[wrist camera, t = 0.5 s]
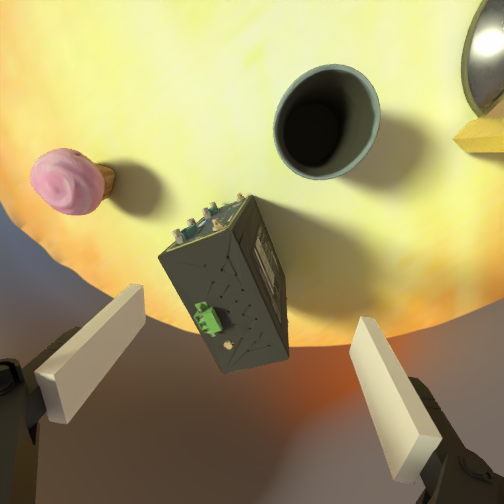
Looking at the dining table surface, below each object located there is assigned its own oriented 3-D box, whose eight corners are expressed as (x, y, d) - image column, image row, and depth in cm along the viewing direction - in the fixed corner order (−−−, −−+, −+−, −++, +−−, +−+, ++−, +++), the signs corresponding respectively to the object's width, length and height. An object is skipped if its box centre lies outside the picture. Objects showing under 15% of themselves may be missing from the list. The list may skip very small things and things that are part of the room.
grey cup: (351, 89, 33) (388, 58, 22) (345, 170, 37) (374, 178, 26) (274, 95, 34) (272, 69, 23) (275, 173, 38) (274, 182, 27)
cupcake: (120, 214, 43) (76, 231, 34) (71, 192, 42) (13, 203, 33) (132, 163, 39) (87, 166, 30) (79, 139, 39) (17, 134, 30)
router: (249, 185, 39) (223, 216, 20) (288, 283, 45) (295, 377, 26) (204, 204, 41) (142, 248, 22) (246, 296, 46) (225, 392, 28)
